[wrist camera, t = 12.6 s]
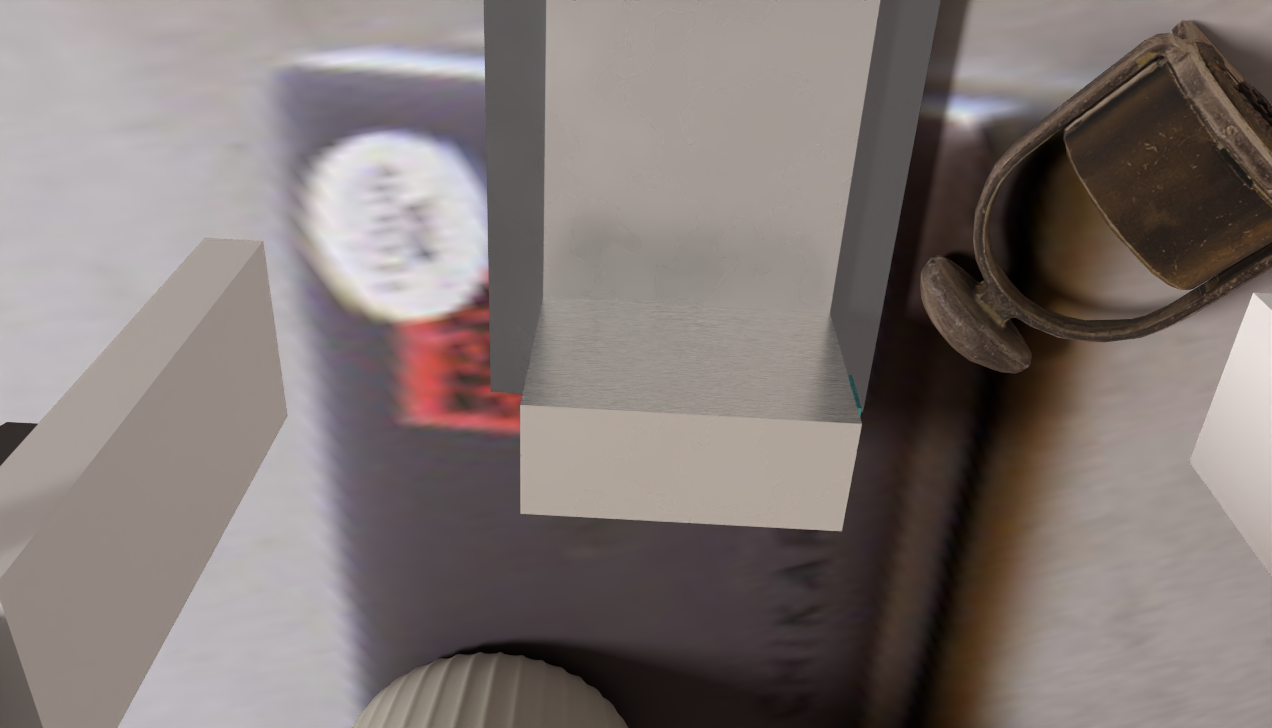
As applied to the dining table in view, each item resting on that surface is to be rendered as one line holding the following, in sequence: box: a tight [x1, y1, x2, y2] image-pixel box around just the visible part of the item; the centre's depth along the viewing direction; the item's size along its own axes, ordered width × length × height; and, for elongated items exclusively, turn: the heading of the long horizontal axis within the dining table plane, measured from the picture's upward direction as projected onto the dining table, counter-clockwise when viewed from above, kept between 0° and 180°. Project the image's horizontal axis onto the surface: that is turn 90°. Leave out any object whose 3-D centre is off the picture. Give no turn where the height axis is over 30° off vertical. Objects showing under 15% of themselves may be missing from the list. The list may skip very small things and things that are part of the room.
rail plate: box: [484, 0, 941, 531], centre depth 31 cm, size 28×14×9 cm, turn 177°
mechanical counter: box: [921, 21, 1272, 373], centre depth 34 cm, size 7×13×10 cm
